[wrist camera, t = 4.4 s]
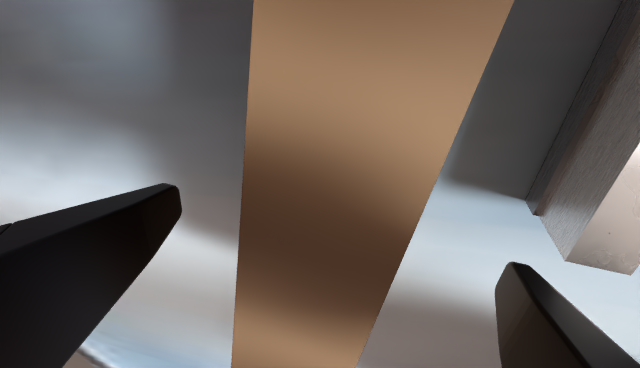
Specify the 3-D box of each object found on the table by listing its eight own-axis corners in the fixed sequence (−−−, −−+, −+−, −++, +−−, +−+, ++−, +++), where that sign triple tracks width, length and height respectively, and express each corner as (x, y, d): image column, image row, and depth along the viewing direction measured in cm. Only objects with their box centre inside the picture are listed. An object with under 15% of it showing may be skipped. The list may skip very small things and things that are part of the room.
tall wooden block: (362, 273, 17) (335, 413, 11) (292, 250, 18) (230, 373, 12) (474, -41, 10) (560, -107, 4) (349, -65, 10) (263, -154, 5)
